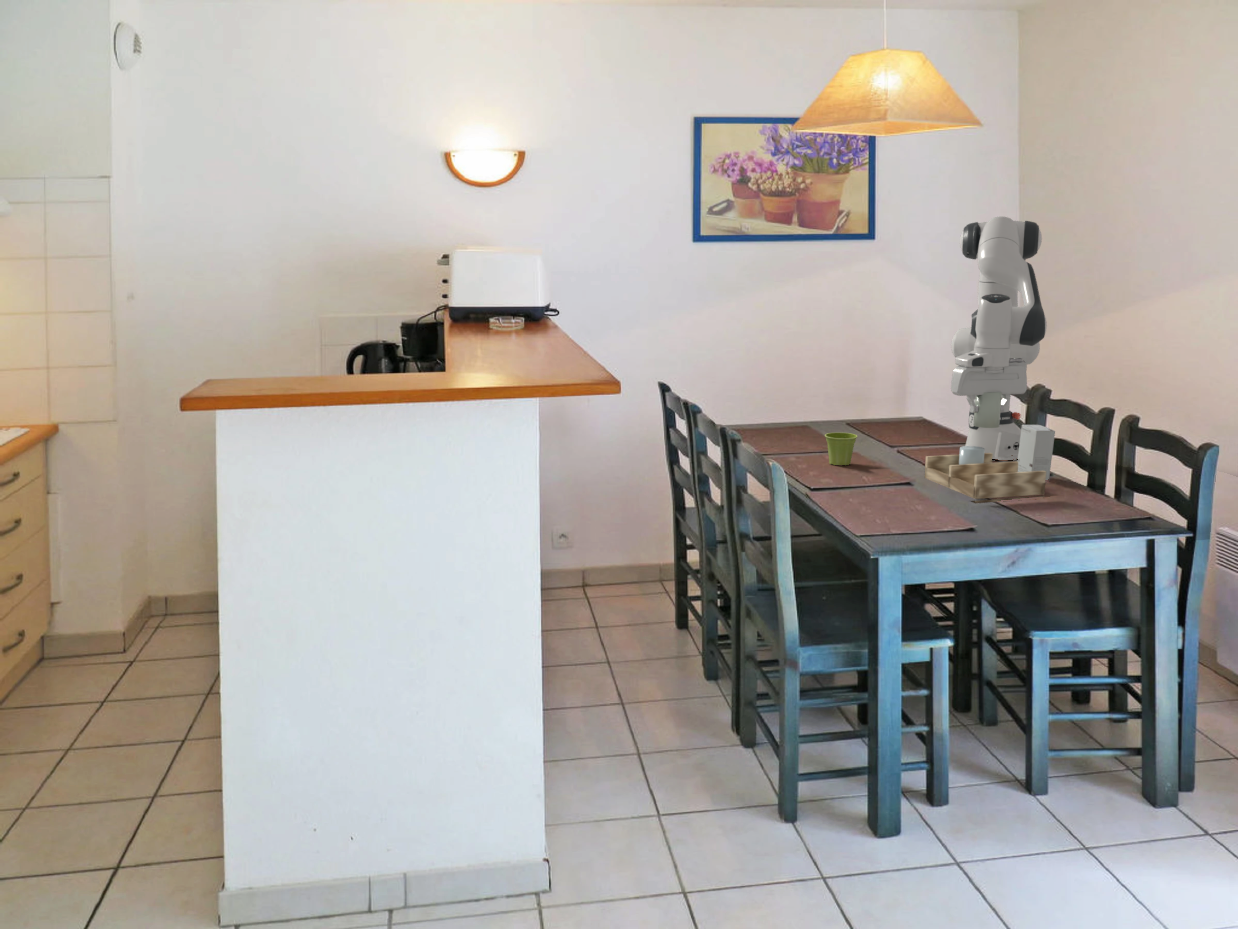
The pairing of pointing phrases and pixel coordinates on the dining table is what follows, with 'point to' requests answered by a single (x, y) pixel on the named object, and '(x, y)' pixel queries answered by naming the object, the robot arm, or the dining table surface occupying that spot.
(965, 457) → the pale blue-grey rounded dome
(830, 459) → the plant pot
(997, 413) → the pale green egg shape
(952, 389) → the robot arm
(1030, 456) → the skincare box
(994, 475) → the rack
